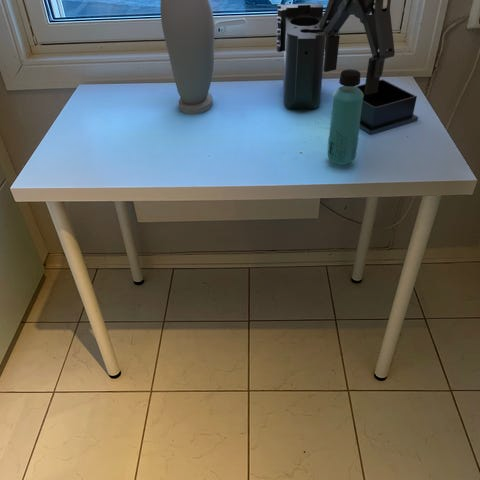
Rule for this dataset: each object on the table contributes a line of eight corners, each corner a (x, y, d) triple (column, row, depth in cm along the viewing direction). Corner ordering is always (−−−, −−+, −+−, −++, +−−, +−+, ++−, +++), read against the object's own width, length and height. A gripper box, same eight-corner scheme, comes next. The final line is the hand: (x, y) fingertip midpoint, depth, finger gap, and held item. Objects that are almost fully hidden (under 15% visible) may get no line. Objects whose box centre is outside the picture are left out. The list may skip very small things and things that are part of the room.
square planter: (417, 120, 132) (422, 97, 128) (370, 135, 127) (374, 110, 123) (379, 100, 141) (383, 77, 137) (334, 112, 137) (336, 89, 132)
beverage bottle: (361, 164, 117) (375, 72, 103) (338, 173, 115) (350, 80, 101) (341, 153, 121) (352, 63, 107) (319, 162, 119) (327, 70, 104)
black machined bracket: (316, 83, 150) (323, -4, 135) (321, 114, 136) (328, 21, 120) (275, 84, 151) (277, -3, 135) (275, 115, 136) (277, 22, 121)
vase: (215, 116, 137) (205, -44, 112) (166, 115, 138) (146, -43, 113) (221, 95, 146) (213, -56, 121) (175, 95, 147) (158, -55, 122)
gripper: (307, -55, 97) (300, 65, 112) (396, -27, 81) (373, 108, 96) (340, -60, 99) (328, 58, 114) (432, -34, 83) (405, 99, 99)
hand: (349, 81), depth 105 cm, fingers open, 13 cm apart
